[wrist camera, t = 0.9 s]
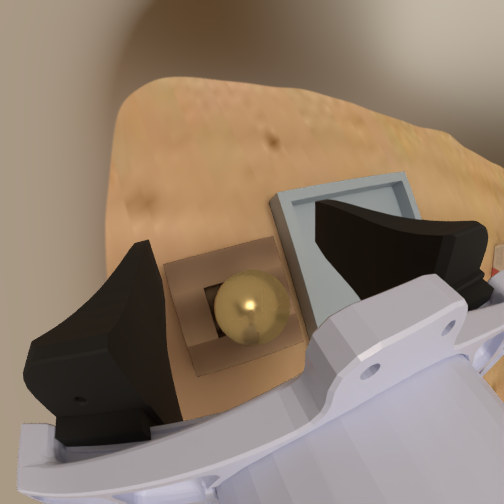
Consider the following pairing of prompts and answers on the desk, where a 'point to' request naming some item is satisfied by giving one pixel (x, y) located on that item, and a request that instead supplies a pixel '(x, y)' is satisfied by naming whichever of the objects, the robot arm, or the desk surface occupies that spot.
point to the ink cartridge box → (498, 259)
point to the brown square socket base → (198, 312)
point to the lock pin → (252, 307)
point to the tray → (306, 250)
